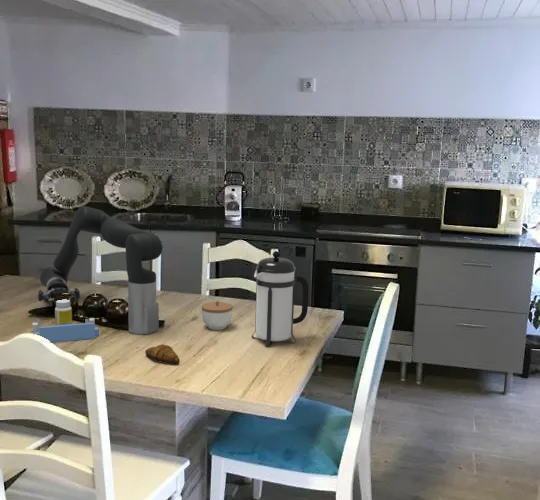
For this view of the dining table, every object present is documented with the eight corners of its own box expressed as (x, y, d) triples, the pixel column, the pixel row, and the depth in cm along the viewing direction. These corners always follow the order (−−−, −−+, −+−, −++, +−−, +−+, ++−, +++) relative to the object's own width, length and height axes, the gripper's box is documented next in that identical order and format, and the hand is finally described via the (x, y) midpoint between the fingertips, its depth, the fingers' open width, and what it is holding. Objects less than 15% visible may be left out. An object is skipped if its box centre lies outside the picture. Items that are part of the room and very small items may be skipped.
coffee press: (290, 351, 205) (294, 257, 200) (244, 344, 210) (246, 252, 205) (307, 335, 221) (310, 248, 216) (263, 329, 226) (265, 244, 221)
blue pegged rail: (31, 322, 227) (31, 308, 226) (90, 317, 234) (90, 304, 233) (34, 343, 205) (33, 328, 204) (99, 338, 212) (99, 323, 211)
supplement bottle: (75, 327, 223) (75, 300, 221) (64, 331, 218) (63, 303, 216) (63, 325, 225) (62, 298, 223) (51, 329, 220) (51, 301, 218)
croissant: (186, 362, 193) (186, 346, 192) (170, 368, 188) (170, 352, 187) (155, 352, 201) (155, 336, 200) (138, 358, 196) (138, 342, 195)
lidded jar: (238, 327, 228) (239, 301, 226) (215, 333, 220) (216, 307, 218) (217, 321, 235) (218, 295, 233) (195, 326, 227) (195, 300, 226)
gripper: (36, 279, 242) (38, 290, 227) (76, 277, 247) (81, 288, 232) (37, 299, 243) (39, 311, 228) (76, 297, 248) (81, 308, 234)
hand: (60, 299), depth 230 cm, fingers open, 8 cm apart
